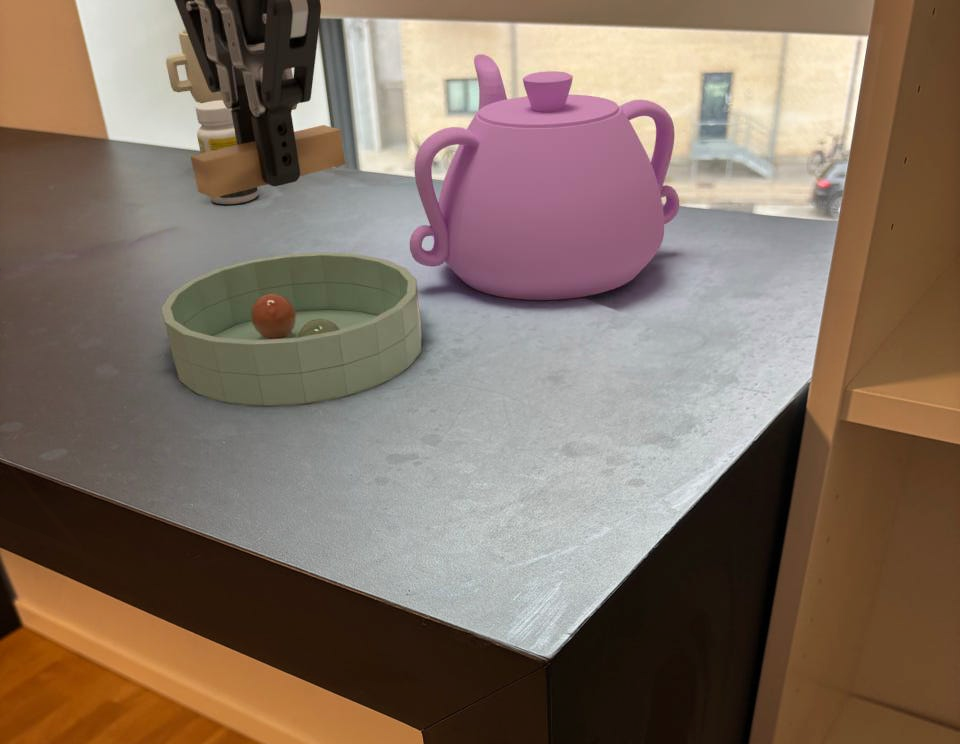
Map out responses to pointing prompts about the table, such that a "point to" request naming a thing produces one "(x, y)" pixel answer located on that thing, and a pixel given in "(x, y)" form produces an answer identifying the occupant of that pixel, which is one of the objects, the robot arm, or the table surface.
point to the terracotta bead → (273, 316)
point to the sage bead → (317, 327)
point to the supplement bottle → (219, 141)
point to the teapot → (546, 191)
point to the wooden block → (242, 165)
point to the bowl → (295, 329)
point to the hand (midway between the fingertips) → (272, 177)
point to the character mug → (189, 73)
